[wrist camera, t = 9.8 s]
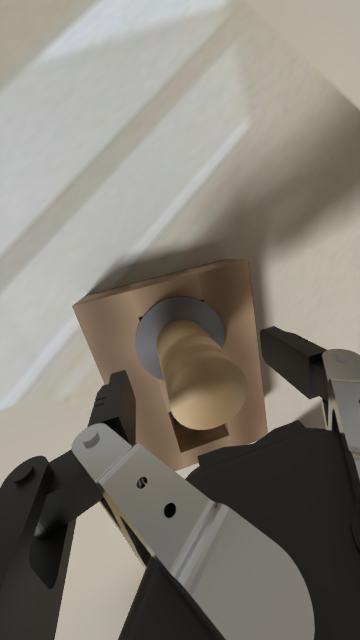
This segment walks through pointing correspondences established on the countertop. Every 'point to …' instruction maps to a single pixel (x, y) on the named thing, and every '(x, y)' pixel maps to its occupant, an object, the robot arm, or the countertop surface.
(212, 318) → the oak peg
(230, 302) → the walnut board
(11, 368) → the countertop surface
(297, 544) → the robot arm
